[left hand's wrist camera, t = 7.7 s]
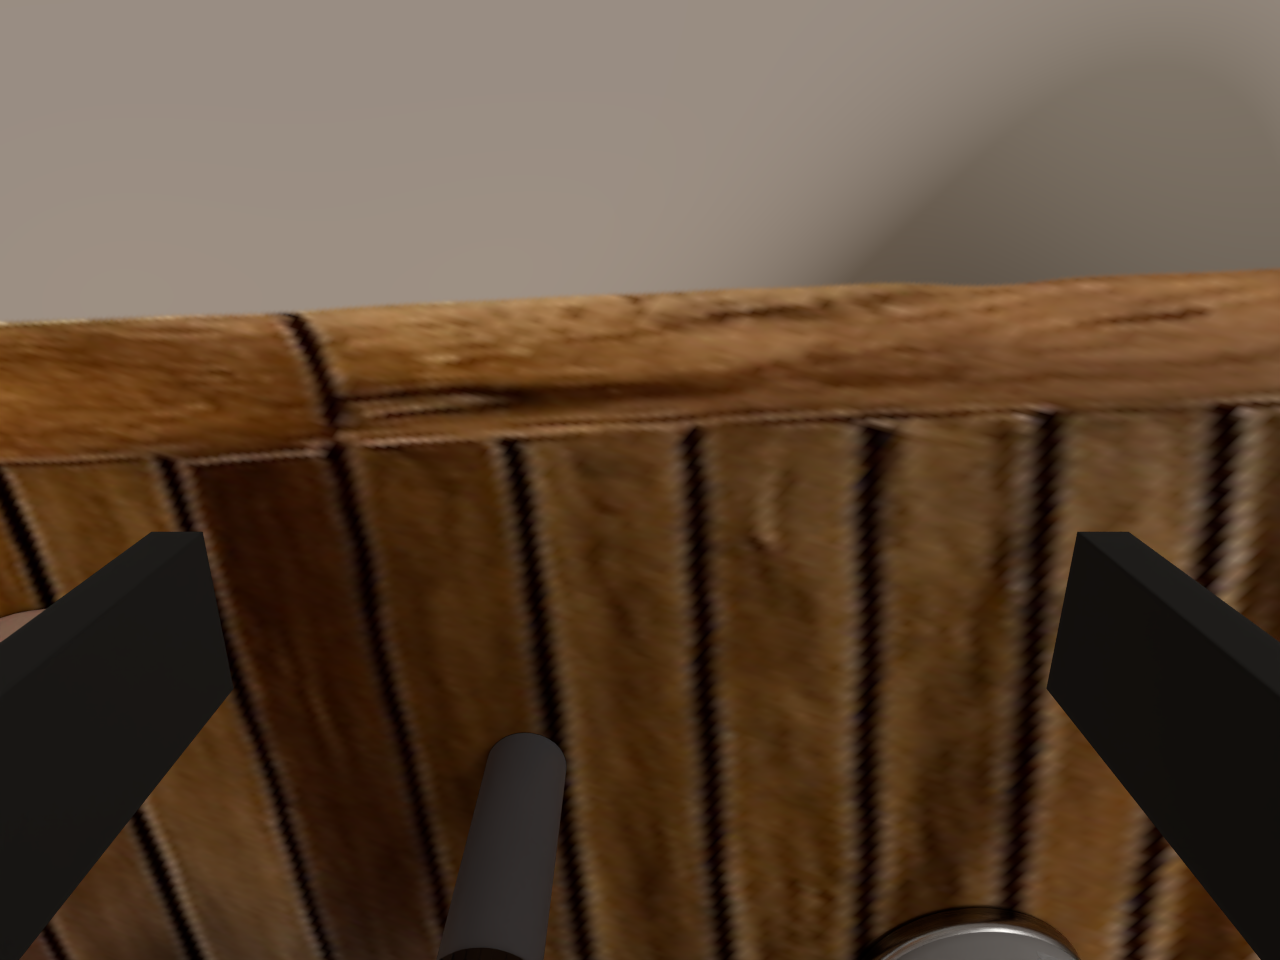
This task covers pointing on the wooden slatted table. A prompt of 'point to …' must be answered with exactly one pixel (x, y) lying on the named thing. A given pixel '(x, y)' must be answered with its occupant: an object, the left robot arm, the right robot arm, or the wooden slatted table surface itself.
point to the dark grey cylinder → (510, 851)
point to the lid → (481, 954)
